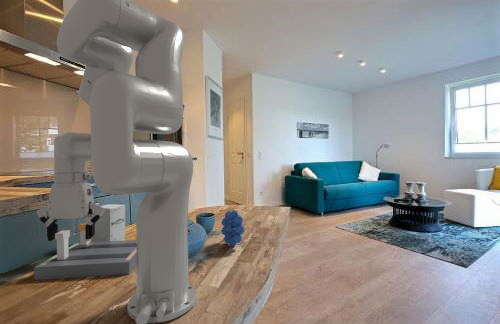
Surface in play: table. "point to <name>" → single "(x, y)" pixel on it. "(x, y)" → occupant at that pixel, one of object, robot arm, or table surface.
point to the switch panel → (88, 259)
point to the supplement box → (110, 224)
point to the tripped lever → (83, 236)
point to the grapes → (232, 227)
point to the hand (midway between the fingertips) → (71, 238)
